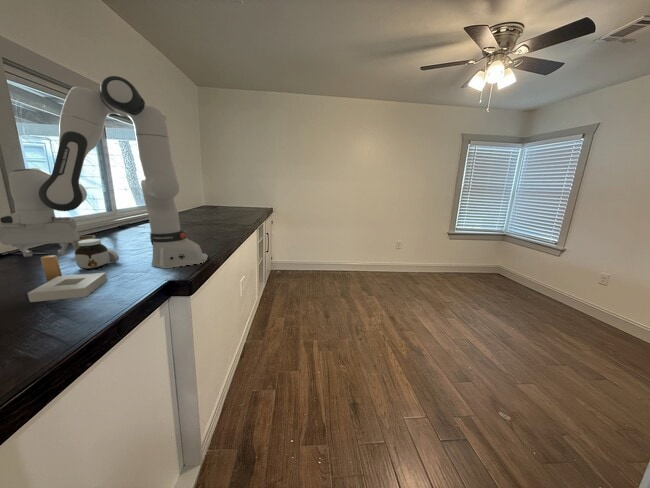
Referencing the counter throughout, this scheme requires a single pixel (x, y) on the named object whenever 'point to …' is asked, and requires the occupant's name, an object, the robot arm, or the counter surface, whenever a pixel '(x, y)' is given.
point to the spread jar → (94, 255)
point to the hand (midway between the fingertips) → (45, 255)
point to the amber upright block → (51, 267)
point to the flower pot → (81, 240)
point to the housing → (67, 287)
